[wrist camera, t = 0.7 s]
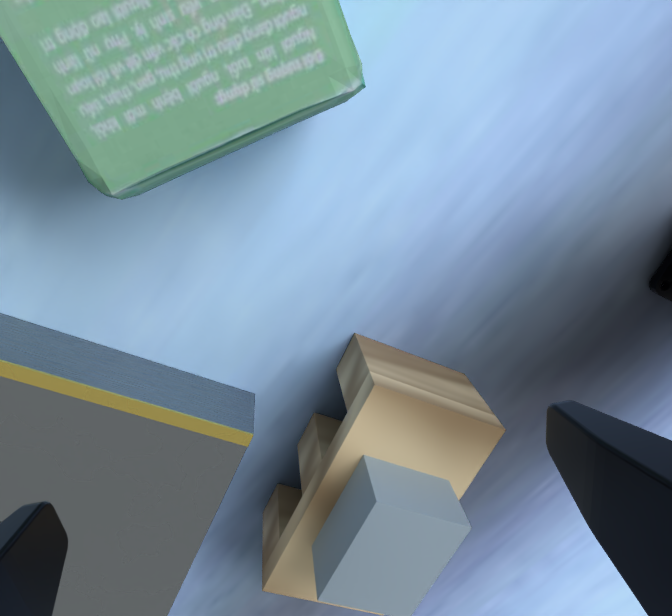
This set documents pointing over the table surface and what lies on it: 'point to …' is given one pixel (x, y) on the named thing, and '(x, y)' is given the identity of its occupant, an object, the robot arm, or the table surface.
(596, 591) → the table surface
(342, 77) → the box
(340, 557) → the grey blue block
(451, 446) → the tan stepped block
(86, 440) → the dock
